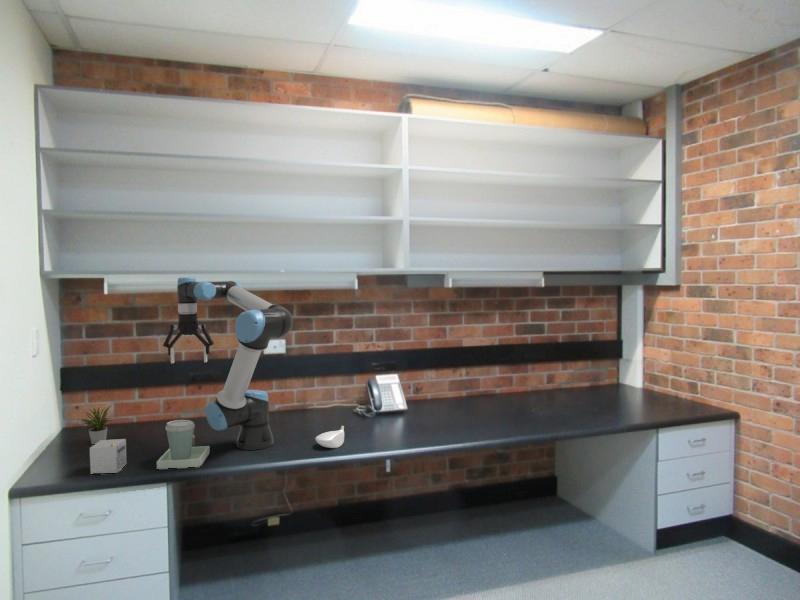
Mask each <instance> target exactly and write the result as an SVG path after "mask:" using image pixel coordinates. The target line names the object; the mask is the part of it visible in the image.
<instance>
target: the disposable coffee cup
mask: <svg viewBox="0 0 800 600" xmlns="http://www.w3.org/2000/svg"><path fill="white" fill-rule="evenodd" d="M195 427H196V425H195V422H193V420H189V419H175V420H171V421H170V420H169V421H168V422H166V424H165V431H166V435H167V441H168V445H169V447H168V448H170V453H171V458H172V460H185V459H190V456H191V449H192V441H193V435H195V434H194V433H195Z"/></svg>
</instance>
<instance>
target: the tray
mask: <svg viewBox="0 0 800 600" xmlns="http://www.w3.org/2000/svg"><path fill="white" fill-rule="evenodd" d="M210 451H211V449H210V445H203V446H201V445H200V446H195V447H192V449H191V456H190V459H185V460H172V458H171V453H170V447H168V449H167V450H166V451H165V452H164V453H163V455H161V456H160V457H159V459H158V460H156V470H157V469H159V470H169V469H168V468H177V469H187V468H188V467H195V468H201V467H202V465H203V464H204V462H205V461H206V459H207V458H208V456H209V455H210ZM200 466H201V467H200ZM188 469H189V468H188Z"/></svg>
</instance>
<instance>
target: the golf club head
mask: <svg viewBox="0 0 800 600" xmlns="http://www.w3.org/2000/svg"><path fill="white" fill-rule="evenodd" d="M344 428H345V426H344V425H341V427H340V429H339V430H330V431H326V432H323V433H321V434H318V435H317V436H316V437H315V442H316V443H317V444H318V445H320V446H322V447H323V448H328V449H337V448H338V449H339V448H340V447H341V446H342V445H343V444H344V442H345V431H344V430H345V429H344Z"/></svg>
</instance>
